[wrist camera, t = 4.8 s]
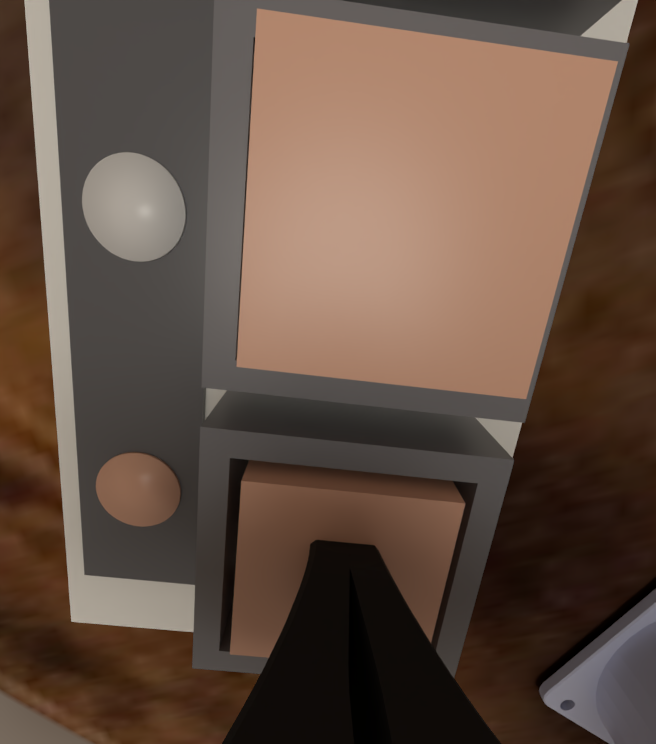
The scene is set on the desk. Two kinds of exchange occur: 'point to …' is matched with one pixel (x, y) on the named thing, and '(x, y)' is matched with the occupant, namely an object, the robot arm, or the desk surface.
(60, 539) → the desk surface
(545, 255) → the button middle
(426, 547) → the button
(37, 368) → the desk surface
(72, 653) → the desk surface
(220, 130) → the button board
